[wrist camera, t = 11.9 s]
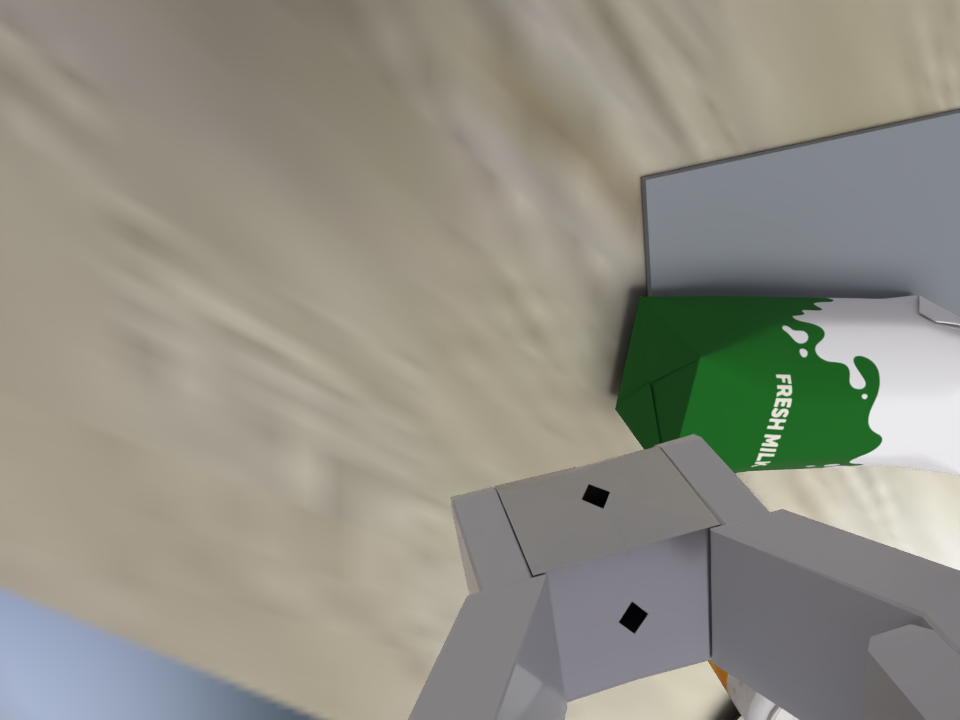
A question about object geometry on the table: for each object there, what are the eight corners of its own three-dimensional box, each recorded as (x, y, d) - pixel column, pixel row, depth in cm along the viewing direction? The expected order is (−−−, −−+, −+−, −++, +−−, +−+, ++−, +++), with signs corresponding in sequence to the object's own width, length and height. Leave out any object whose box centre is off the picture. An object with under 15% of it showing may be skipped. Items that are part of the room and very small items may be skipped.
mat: (641, 177, 41) (645, 180, 41) (1017, 96, 44) (1026, 98, 43) (655, 435, 49) (659, 440, 48) (977, 352, 51) (984, 356, 51)
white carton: (605, 414, 47) (894, 408, 52) (671, 510, 39) (1005, 492, 44) (635, 273, 43) (945, 281, 48) (715, 348, 35) (1076, 349, 40)
